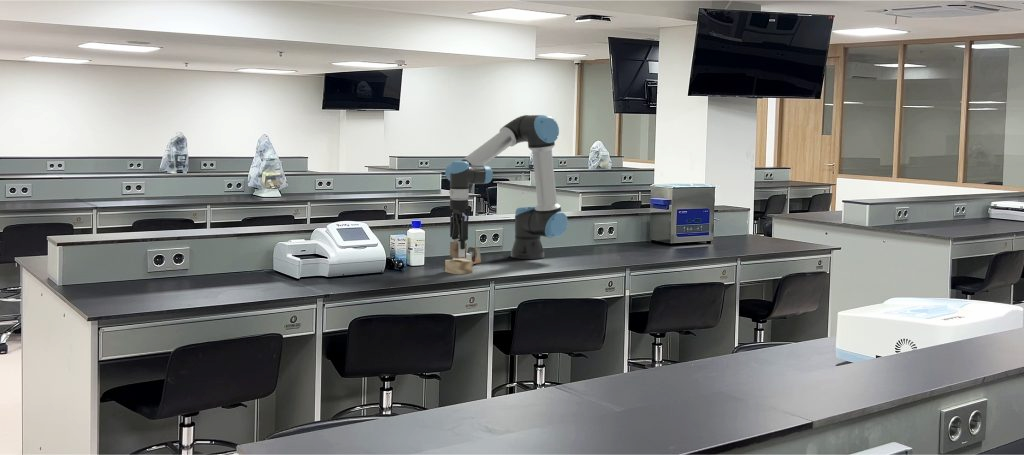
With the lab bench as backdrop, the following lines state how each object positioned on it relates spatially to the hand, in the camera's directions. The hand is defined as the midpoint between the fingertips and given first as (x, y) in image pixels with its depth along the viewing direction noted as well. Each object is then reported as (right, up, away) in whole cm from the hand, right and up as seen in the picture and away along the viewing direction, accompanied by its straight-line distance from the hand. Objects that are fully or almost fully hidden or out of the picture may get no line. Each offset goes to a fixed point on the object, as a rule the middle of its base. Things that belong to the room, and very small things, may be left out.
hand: (458, 255), depth 381 cm
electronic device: (+5, -4, +23) cm, 23 cm away
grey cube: (+1, -5, +12) cm, 14 cm away
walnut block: (0, 0, 0) cm, 1 cm away
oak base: (0, -7, +1) cm, 7 cm away
